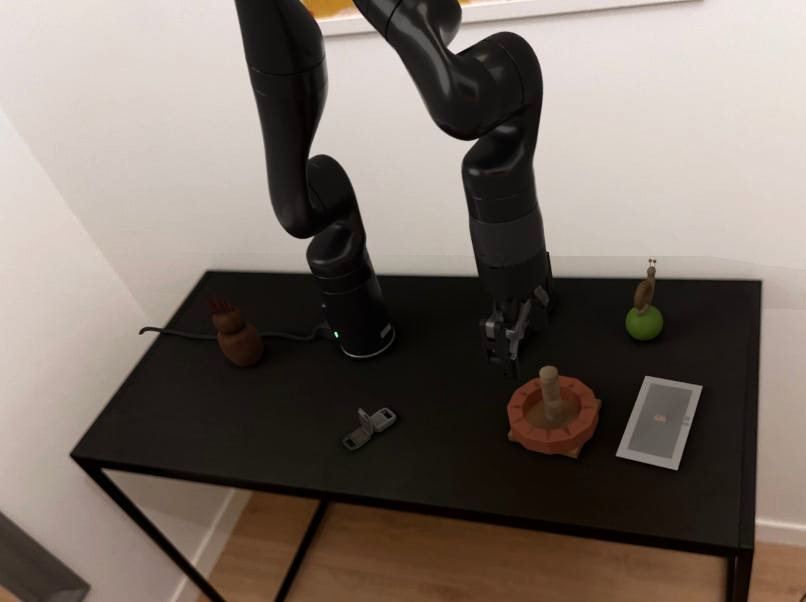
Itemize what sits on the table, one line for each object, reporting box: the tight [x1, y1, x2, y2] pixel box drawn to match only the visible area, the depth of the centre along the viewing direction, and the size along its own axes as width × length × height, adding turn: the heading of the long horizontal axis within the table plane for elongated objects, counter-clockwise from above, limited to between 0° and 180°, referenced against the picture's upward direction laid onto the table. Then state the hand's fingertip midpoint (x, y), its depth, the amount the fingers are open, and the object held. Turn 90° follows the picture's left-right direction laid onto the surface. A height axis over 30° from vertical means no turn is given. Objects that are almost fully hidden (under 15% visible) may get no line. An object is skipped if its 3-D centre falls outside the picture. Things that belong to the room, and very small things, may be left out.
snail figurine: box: [625, 258, 664, 341], centre depth 105 cm, size 5×6×12 cm
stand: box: [507, 365, 602, 459], centre depth 96 cm, size 10×10×10 cm
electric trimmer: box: [507, 288, 558, 353], centre depth 114 cm, size 4×16×3 cm, turn 142°
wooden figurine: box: [201, 293, 264, 367], centre depth 118 cm, size 7×6×15 cm
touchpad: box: [615, 375, 704, 471], centre depth 95 cm, size 8×15×2 cm, turn 154°
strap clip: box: [341, 407, 397, 451], centre depth 104 cm, size 8×3×4 cm, turn 128°
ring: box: [506, 374, 600, 456], centre depth 98 cm, size 12×12×3 cm
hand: (525, 352), depth 85 cm, fingers open, 8 cm apart
